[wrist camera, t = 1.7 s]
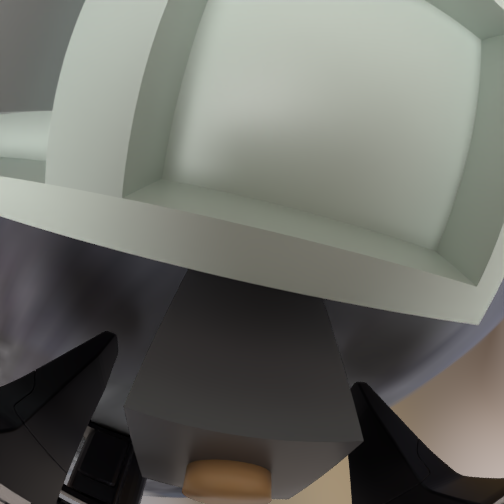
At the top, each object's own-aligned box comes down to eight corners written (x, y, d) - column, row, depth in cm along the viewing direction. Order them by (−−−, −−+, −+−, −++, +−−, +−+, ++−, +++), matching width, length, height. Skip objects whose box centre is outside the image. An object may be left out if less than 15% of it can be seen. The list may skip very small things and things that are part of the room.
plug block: (282, 382, 12) (288, 517, 6) (177, 362, 12) (137, 495, 5) (322, 297, 10) (370, 470, 4) (188, 268, 10) (110, 438, 4)
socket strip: (431, 275, 9) (478, 324, 6) (-30, 172, 8) (-75, 190, 5) (486, 39, 5) (539, 29, 2) (15, -13, 4) (-25, -24, 1)
